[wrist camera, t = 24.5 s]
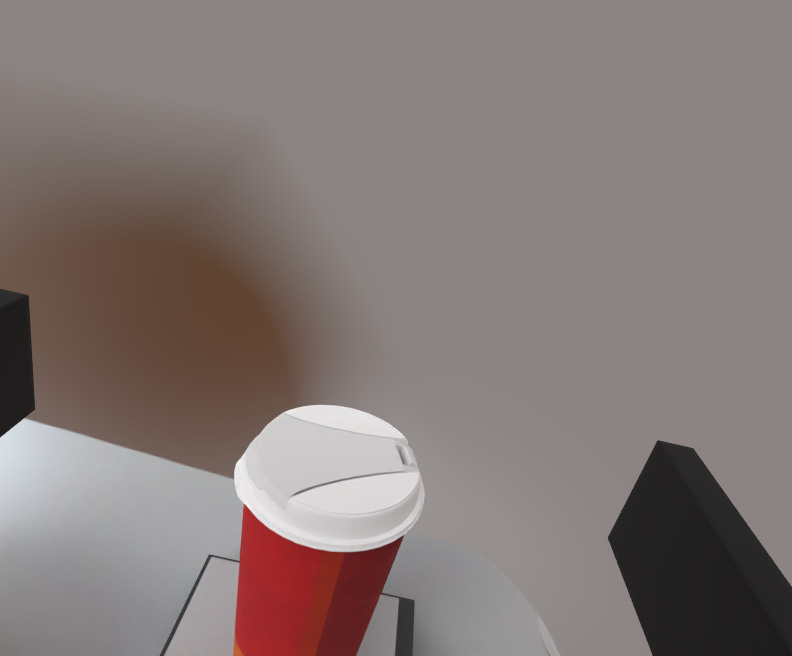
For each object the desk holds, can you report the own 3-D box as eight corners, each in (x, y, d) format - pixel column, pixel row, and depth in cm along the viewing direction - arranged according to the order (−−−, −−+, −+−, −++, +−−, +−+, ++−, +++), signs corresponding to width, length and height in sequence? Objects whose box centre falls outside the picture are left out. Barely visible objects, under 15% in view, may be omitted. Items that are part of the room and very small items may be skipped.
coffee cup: (351, 601, 35) (406, 403, 29) (377, 745, 28) (458, 523, 21) (211, 608, 32) (239, 392, 26) (200, 769, 25) (235, 524, 19)
